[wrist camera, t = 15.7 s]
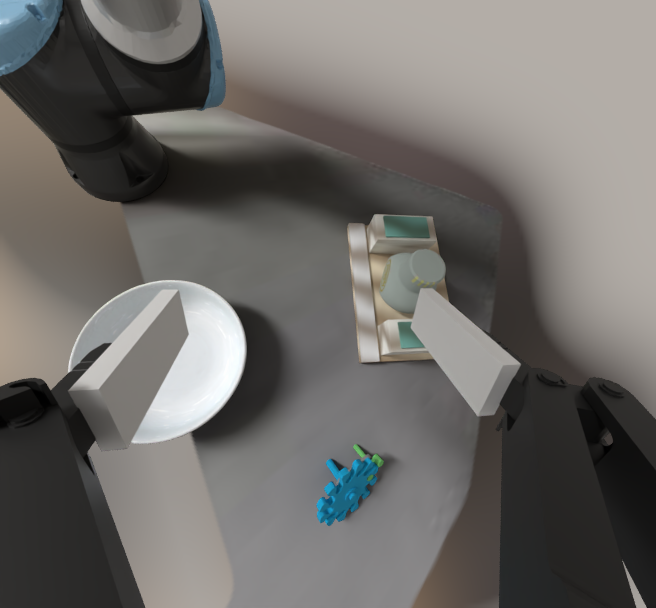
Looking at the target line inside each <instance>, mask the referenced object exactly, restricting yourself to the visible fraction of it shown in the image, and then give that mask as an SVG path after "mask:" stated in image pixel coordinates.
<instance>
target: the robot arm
mask: <svg viewBox="0 0 656 608" xmlns="http://www.w3.org/2000/svg"><path fill="white" fill-rule="evenodd" d="M222 60H223V58H222V50H221V44H220V39H219V34H218V30H217V26H216V22H215V18H214V15H213V11H212V9H211V6H210V4H209V1H208V0H0V89H1V90H2V91H3V92H4V93H5V94H6V95H7V96H8V97H9V98H10V99H11V100H12V101H13V102H14V103H15V104H16V105H17V106H18V107H19V108H20V109H21V110H22V111H23V112H24V113H25V114H26V115H27V117H28V118H30V120H31V121H33V123H34V124H35V125H36V126H37V127H38V128H39V129H40V130H41V131H42V132H43V133H44V134H45V135H46V136H47V137H48V138H49V139H50V140H51V141H52V142H53V143H54V145H55V147H56V149H57V151H58V153H59V155H60V156H61V159H62V160H63V162H64V164H65V167H66V169H67V171H68V173H69V174H70V176H71V177H72V178H73V179H74V181H75V182H76V183H77V184H79V185H80V186H81V187H82V188H83V189H84V190H85V191H86V192H87V193H89V194H90V195H92V196H94V197H96V198H99V199H102V200H106V201H113V202H125V201H132V200H136V199H139V198H142V197H144V196H146V195H148V194H150V193H152V192H153V191H154V190H156V189H157V188H158V187H159V186H160V185H161V184H162V182H163V181H164V179H165V177H166V175H167V172H168V161H167V157H166V155H165V153H164V151H163V149H162V147H161V146H160V144H159V142H158V141H157V140H156V139H155V138H154V137H153V136H152V135H151V134H150V133H149V132H148V131H147V130H146V129H145V128H144V127H143V126H142V125H141V124H140V123H139V122H138V121H137V120H136V119H135V118H134V117H133V116H132V115H142V114H153V113H163V112H174V111H184V110H200V111H202V110H205V109H206V108H211V107H217V106H219V105H221V104H222V102H223V100H224V98H225V92H226V85H225V72H224V66H223V63H222ZM411 329H412V330H413V332H414V333H415V334H416V336H417V337H418V338H419V340H420V341H421V342H422V344H423V345H424V346H425V347H426V349H427V350H428V351H429V353H430V354H431V355H432V357H433V358H434V359H435V361H436V362H437V363H438V365H439V366H440V367H441V369H442V370H443V371H444V372H445V374H446V375H447V376H448V378H449V379H450V380H451V382H452V383H453V384H454V386H455V387H456V388H457V390H458V391H459V392H460V393H461V395H462V396H463V397H464V399H465V400H466V401H467V403H468V404H469V405H470V407H471V408H472V409H473V411H474V412H475V413H476V415H477V416H485V415H494V414H495V412H496V410H497V408H498V407H499V405H501V406H502V407H503V408H504V409H505V410H506V412H505V414H504V416H503V417H502V419H501V421H500V423H499V425H498V426H497V429H496V430H497V431H499V430H500V428H503V431H502V481H501V535H500V587H499V589H500V590H499V608H636V605H635V602H634V599H633V595H632V592H631V589H630V585H629V582H628V579H627V575H626V572H625V569H624V565H623V562H624V564H625V566H626V568H627V570H628V572H629V574H630V576H631V577H632V579H633V581H634V583H635V585H636V587H637V589H638V591H639V593H640V595H641V597H642V599H643V601H644V603H645V605H646V607H647V608H656V419H655V418H654V417H653V416H652V415H651V414H650V413H649V412H648V411H647V410H646V409H645V408H644V406H643V405H642V404H641V403H640V402H639V401H638V400H637V399H636V398H635V397H634V396H633V395H632V394H631V393H630V392H629V391H627V390H626V389H624V388H623V387H621V386H620V385H619V384H617V383H613V382H612V381H609V380H605V379H602V378H595V377H594V378H589V380H588V381H587V382H586V384H585V385H584V387H582V386H577V385H571V384H568V383H567V382H566V381H565V380H564V379H563V378H562V377H560V376H558V375H557V374H555V373H553V372H550V371H548V370H544V369H541V368H531V367H530V366H529V365H528V364H526V363H525V362H524V361H523V360H522V359H520V358H519V357H518V356H517V355H516V354H514V353H513V352H512V351H511V350H510V349H508V348H507V347H506V346H505V345H504V344H501V342H500V341H499V340H498V339H496V338H495V337H494V336H493V335H491V334H489V333H487V332H486V331H484V330H481V329H479V328H478V327H477V326H476V325H475V324H474V323H472V322H471V321H470V320H469V319H468V318H467V317H465V316H464V315H463V314H462V313H461V312H460V311H458V310H457V309H456V308H455V307H454V306H453V305H451V304H450V303H449V302H448V301H447V300H446V299H444V298H443V297H442V296H441V295H440V294H439V293H437V292H436V291H435V290H434V289H433V288H421V289H420V293H419V296H418V300H417V304H416V308H415V312H414V316H413V320H412V324H411ZM188 335H189V333H188V328H187V324H186V319H185V315H184V310H183V306H182V302H181V297H180V293H179V289H178V290H161V291H160V293H159V294H158V295H157V296H156V297H155V298H154V299H153V300H152V301H151V302H150V303H149V304H148V305H147V306H146V308H145V309H144V310H143V311H142V312H141V313H140V314H139V315H138V316H137V317H136V318H135V319H134V320H133V322H132V323H131V324H130V325H129V326H128V327H127V328H126V329H125V330H124V331H123V332H122V333H121V334H120V335H119V337H118V338H117V339H116V340H115V341H114V342H113V343H104V344H102V345H100V346H98V347H97V348H95V349H93V350H92V351H90V352H89V353H88V354H87V355H86V356H85V357H84V358H83V359H82V360H81V361H80V363H78V364H77V365H76V366H75V367H74V368H73V369H72V371H70V372H69V373H68V374H67V375H66V376H65V377H64V378H63V379H62V380H61V381H60V382H59V383H58V384H57V385H56V386H55V387H54V388H53V389H52V390H51V391H50V389H49V387H48V386H47V384H46V383H45V382H44V381H43V380H42V379H37V378H28V379H22V380H18V381H14V382H11V383H8V384H5V385H3V386H1V387H0V608H145V605H144V603H143V600H142V597H141V594H140V592H139V589H138V586H137V583H136V581H135V578H134V575H133V573H132V570H131V567H130V564H129V562H128V559H127V556H126V553H125V550H124V548H123V545H122V542H121V539H120V537H119V534H118V531H117V529H116V526H115V523H114V520H113V518H112V515H111V512H110V509H109V506H108V504H107V501H106V498H105V495H104V493H103V490H102V487H101V485H100V482H99V479H98V476H97V473H96V471H95V468H94V465H93V462H92V460H91V457H90V456H89V454H88V450H89V449H90V447H91V446H92V444H93V443H94V441H96V442H97V444H98V446H99V448H100V450H101V451H110V450H121V449H127V448H128V447H129V445H130V443H131V441H132V439H133V437H134V436H135V434H136V432H137V430H138V428H139V426H140V424H141V423H142V421H143V419H144V417H145V415H146V413H147V411H148V410H149V408H150V406H151V404H152V402H153V400H154V398H155V397H156V395H157V393H158V391H159V389H160V387H161V385H162V384H163V382H164V380H165V378H166V376H167V374H168V372H169V371H170V369H171V367H172V365H173V363H174V361H175V359H176V358H177V356H178V354H179V352H180V350H181V348H182V346H183V345H184V343H185V341H186V339H187V337H188ZM609 432H610V433H611V435H612V438H613V443H612V444H611V445H608V444H607V443H606V441H605V440H604V438H605V437H606V436H607V435H608V433H609ZM622 560H623V562H622Z"/></svg>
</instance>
